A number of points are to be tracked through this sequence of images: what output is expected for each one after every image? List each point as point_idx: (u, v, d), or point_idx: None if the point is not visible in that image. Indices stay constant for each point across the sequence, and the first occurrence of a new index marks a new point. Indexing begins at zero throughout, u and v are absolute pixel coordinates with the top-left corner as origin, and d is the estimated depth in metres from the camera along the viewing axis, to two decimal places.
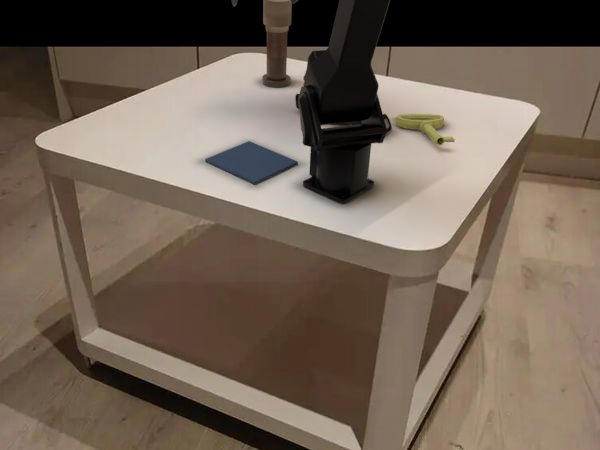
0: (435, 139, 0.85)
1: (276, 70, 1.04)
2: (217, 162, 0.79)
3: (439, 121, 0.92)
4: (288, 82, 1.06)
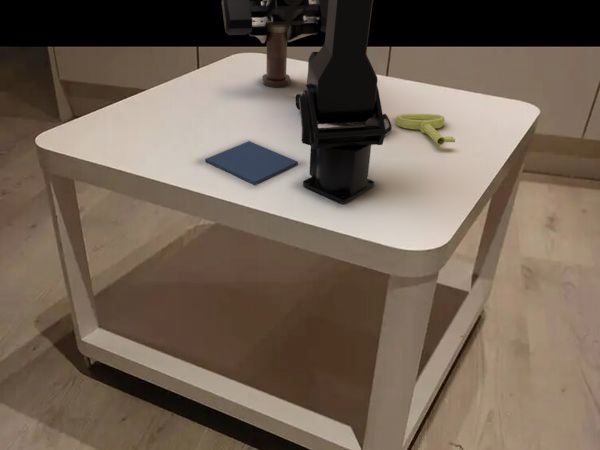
0: (435, 139, 0.85)
1: (276, 70, 1.04)
2: (217, 162, 0.79)
3: (439, 121, 0.92)
4: (288, 82, 1.06)
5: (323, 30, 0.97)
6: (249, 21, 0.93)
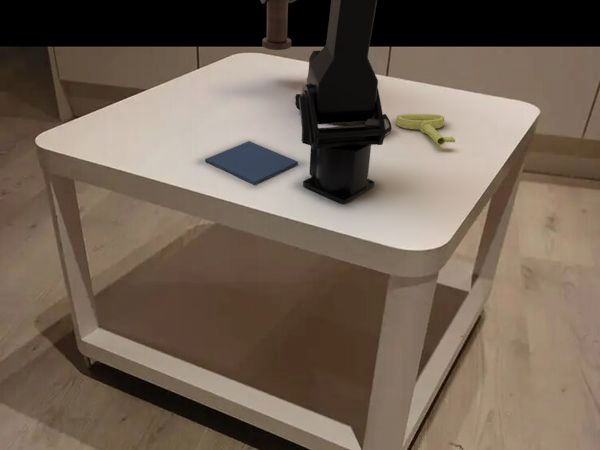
0: (436, 139, 0.85)
1: (277, 31, 1.01)
2: (217, 162, 0.79)
3: (439, 121, 0.92)
4: (289, 45, 1.03)
5: None
6: None
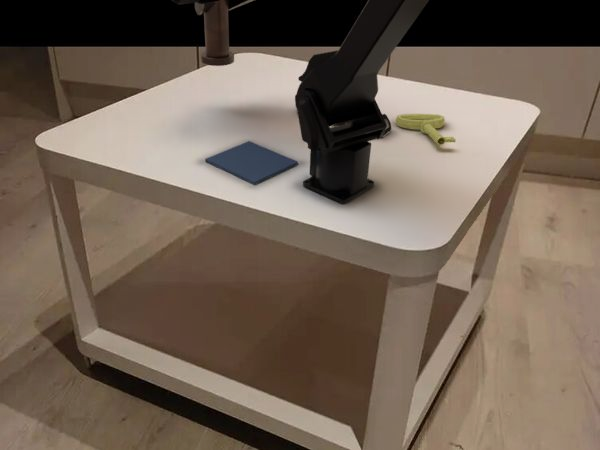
0: (436, 139, 0.85)
1: (221, 45, 0.88)
2: (217, 162, 0.79)
3: (439, 121, 0.92)
4: (233, 58, 0.91)
5: None
6: None
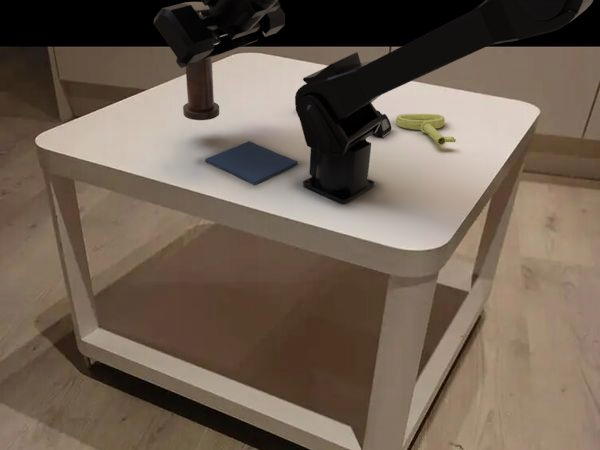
0: (436, 139, 0.85)
1: (208, 97, 0.81)
2: (217, 162, 0.79)
3: (439, 121, 0.92)
4: None
5: (267, 34, 0.79)
6: (211, 40, 0.69)
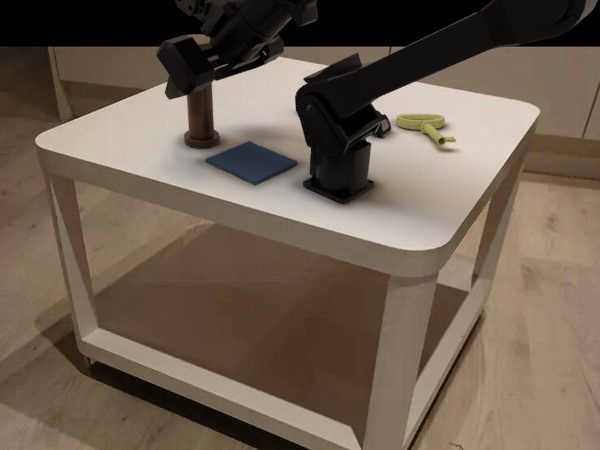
0: (436, 139, 0.85)
1: (208, 126, 0.83)
2: (217, 162, 0.79)
3: (439, 121, 0.92)
4: None
5: (266, 61, 0.81)
6: (212, 71, 0.71)
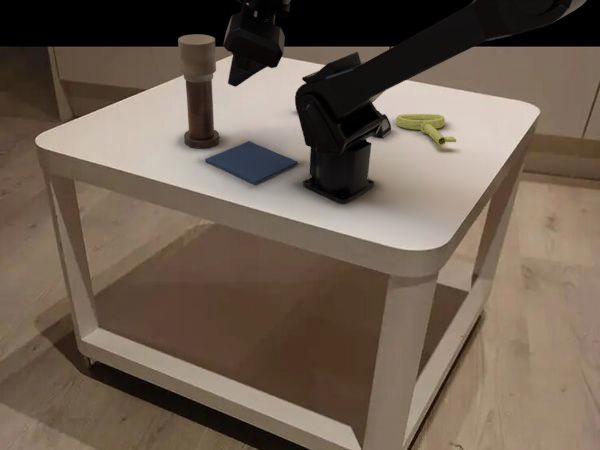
0: (437, 139, 0.85)
1: (208, 126, 0.83)
2: (217, 162, 0.79)
3: (440, 121, 0.92)
4: None
5: None
6: (281, 31, 0.67)
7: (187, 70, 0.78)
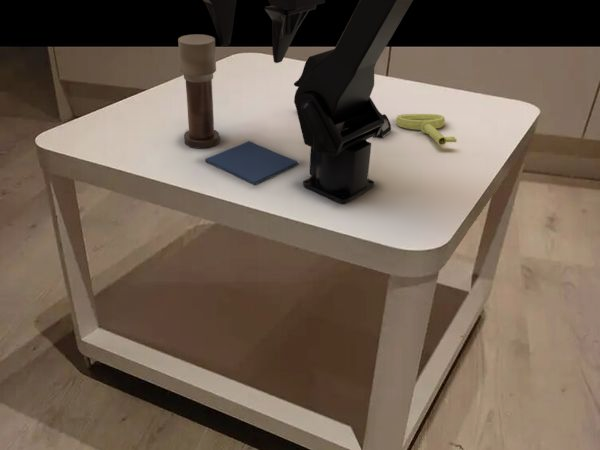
0: (437, 139, 0.85)
1: (208, 126, 0.83)
2: (217, 162, 0.79)
3: (440, 121, 0.92)
4: None
5: None
6: None
7: (187, 70, 0.78)
